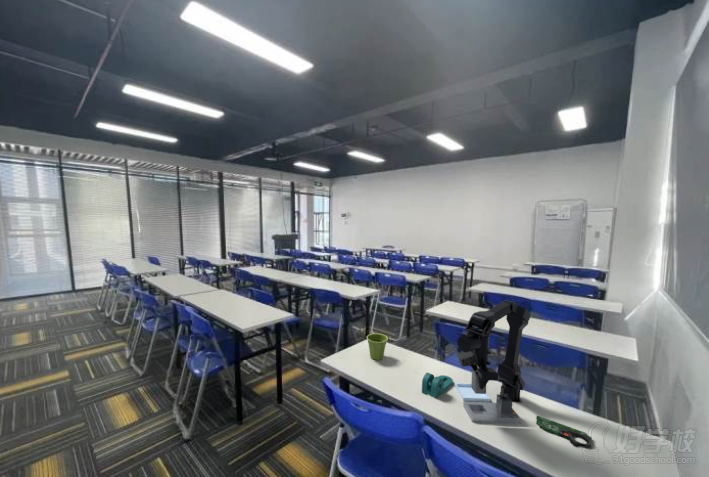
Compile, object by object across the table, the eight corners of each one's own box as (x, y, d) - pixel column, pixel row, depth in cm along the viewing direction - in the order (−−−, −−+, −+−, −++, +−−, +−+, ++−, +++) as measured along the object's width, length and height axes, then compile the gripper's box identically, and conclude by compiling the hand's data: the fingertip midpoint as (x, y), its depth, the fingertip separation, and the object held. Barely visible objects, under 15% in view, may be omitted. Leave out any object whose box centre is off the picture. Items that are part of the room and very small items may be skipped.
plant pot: (361, 357, 155) (362, 337, 155) (374, 350, 164) (374, 331, 164) (379, 364, 148) (379, 343, 147) (391, 357, 157) (392, 337, 156)
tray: (478, 387, 129) (479, 383, 129) (490, 402, 117) (490, 398, 117) (454, 386, 129) (454, 382, 129) (463, 401, 118) (463, 397, 118)
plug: (481, 387, 111) (482, 366, 111) (485, 393, 107) (486, 371, 107) (471, 387, 111) (472, 366, 111) (475, 393, 107) (476, 371, 107)
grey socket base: (507, 409, 113) (508, 387, 113) (520, 424, 104) (521, 401, 104) (463, 407, 114) (464, 385, 114) (471, 423, 105) (472, 399, 105)
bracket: (435, 400, 119) (436, 382, 118) (421, 393, 124) (422, 375, 123) (455, 384, 131) (455, 367, 131) (442, 378, 136) (442, 362, 136)
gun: (534, 428, 102) (536, 414, 110) (534, 432, 102) (536, 417, 110) (593, 450, 92) (591, 433, 100) (592, 455, 92) (590, 437, 100)
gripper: (451, 336, 118) (450, 372, 118) (468, 356, 99) (467, 399, 100) (478, 337, 117) (477, 373, 118) (500, 357, 99) (498, 400, 99)
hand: (479, 385), depth 109 cm, fingers closed on plug, 4 cm apart
